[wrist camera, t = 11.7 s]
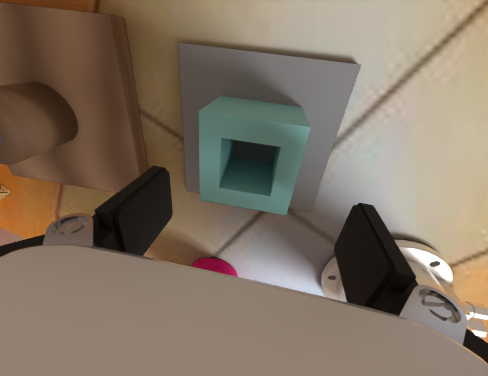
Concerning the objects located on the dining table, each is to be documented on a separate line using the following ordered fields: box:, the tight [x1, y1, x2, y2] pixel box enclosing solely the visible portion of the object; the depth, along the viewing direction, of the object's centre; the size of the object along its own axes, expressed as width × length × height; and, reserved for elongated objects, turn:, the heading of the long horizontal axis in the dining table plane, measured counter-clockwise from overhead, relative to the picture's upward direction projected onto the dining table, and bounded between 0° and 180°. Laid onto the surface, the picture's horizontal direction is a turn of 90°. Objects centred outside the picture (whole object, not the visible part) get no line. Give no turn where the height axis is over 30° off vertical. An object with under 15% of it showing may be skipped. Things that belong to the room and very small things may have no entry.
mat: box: [178, 42, 361, 211], centre depth 17 cm, size 12×12×1 cm
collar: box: [199, 96, 311, 215], centre depth 15 cm, size 6×6×5 cm
